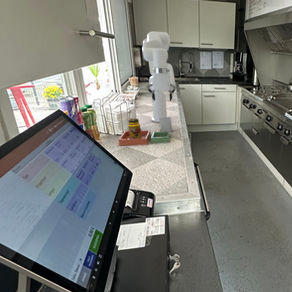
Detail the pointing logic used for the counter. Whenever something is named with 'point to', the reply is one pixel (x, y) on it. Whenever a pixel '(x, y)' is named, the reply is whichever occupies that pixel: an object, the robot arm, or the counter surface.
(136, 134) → the condiment
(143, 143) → the terracotta bin
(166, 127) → the grey rectangular block
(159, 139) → the green bin
